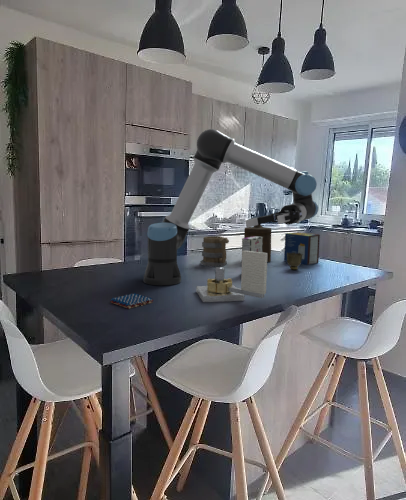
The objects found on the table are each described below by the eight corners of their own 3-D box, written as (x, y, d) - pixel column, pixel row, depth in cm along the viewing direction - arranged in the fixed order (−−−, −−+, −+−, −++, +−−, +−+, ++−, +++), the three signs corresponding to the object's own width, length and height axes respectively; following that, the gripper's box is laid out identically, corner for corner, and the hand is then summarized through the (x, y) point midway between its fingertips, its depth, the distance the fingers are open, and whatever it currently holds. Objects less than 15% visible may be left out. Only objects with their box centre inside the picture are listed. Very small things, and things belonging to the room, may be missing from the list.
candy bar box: (252, 270, 177) (254, 236, 175) (262, 271, 174) (263, 236, 172) (240, 273, 168) (241, 237, 166) (250, 275, 165) (251, 238, 163)
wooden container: (252, 257, 214) (253, 219, 211) (275, 260, 205) (277, 220, 202) (238, 260, 203) (239, 220, 200) (261, 264, 193) (263, 222, 190)
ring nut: (202, 289, 129) (203, 247, 127) (217, 285, 135) (218, 245, 133) (257, 301, 115) (259, 254, 113) (271, 296, 121) (272, 252, 119)
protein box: (295, 259, 211) (296, 232, 209) (318, 263, 200) (320, 234, 197) (283, 261, 205) (284, 233, 202) (307, 265, 193) (308, 235, 191)
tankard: (197, 262, 195) (197, 234, 193) (218, 261, 200) (219, 233, 198) (214, 269, 177) (215, 238, 175) (237, 268, 182) (238, 237, 180)
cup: (303, 271, 176) (304, 254, 175) (287, 270, 177) (288, 254, 175) (299, 268, 184) (300, 252, 183) (284, 267, 184) (285, 252, 183)
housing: (203, 302, 122) (203, 272, 120) (196, 291, 135) (196, 264, 134) (244, 300, 124) (245, 271, 123) (233, 290, 138) (234, 263, 137)
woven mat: (155, 303, 121) (155, 297, 121) (128, 310, 113) (128, 304, 113) (135, 297, 128) (135, 292, 128) (108, 304, 120) (108, 298, 120)
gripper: (323, 219, 137) (295, 229, 122) (267, 226, 154) (236, 235, 139) (321, 199, 136) (291, 206, 121) (264, 208, 154) (232, 215, 139)
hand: (261, 222), depth 130 cm, fingers open, 13 cm apart
